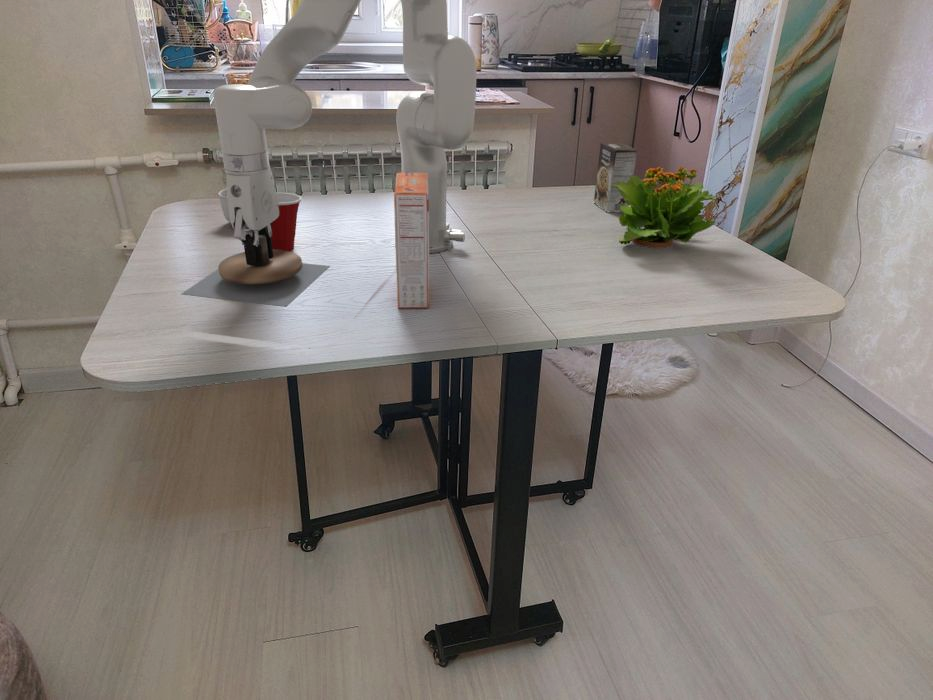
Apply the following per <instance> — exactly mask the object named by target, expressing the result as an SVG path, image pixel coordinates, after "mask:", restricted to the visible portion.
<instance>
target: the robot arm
mask: <svg viewBox="0 0 933 700" xmlns="http://www.w3.org/2000/svg"><path fill="white" fill-rule="evenodd" d="M361 1H362V0H301V1H300V3H299V4H298V7H297V9H296V11H295V12H294V14H293V15H292V17H291V18H290V19H289V20H288V21H287V22H286V23H285V24H284V25H283V26H282V27H281V29H280V30H279V31H278V32H277V34H276V35H275V36H274V37H273V38H272V39H271V40H270V42H269V43H268V44H267V46H266V47H265V48H264V50H263V51H262V53H261V54H260V57H258V60H257V62H256V64H255V65H254V68H253V70H252V72H251V74H250V76H249V78H248V81H247V84H243V83H239V84H238V83H235V84H233V83H232V84H223V85H220V86H217V87H216V88H215V89H214V90H213V103H214V105H213V106H214V111H215V116H216V123H217V128H218V129H217V130H218V136H219V142H220V148H221V154H222V161H223V168H224V172H225V173H226V188H227V198H228V207H229V214H230V220H231V223H230V224H231V226H232V228H233V229H234V231H233V232H234V233H233V237H234V239H237V240H240V242H241V245H242V246H243V247H244V248H243V249H244V252H245V256H246V263H247V264H248V265H254V266H263V265H264V261H263V253H262V246H261V245H259V238H258V235H264V236H266V241H267V248H268V255H269V258H270V259H271V258H273V257H274V255H273V248H272V240H271V236H272V230H271V225H272V222H273V221H274V220H276V219H277V218H278V216H279V206H278V200H277V194H276V192H277V191H276V183H275V181H274V176H273V173H272V170H271V167H270V161H269V160H270V159H269V151H268V145H267V144H268V143H267V136H266V135H267V134H266V130H267V129H271V130H272V129H273V130H293V129H297V128H300V127H302V126H304V125H305V124H306V123H307V122H308V121H309V120H310V118H311V117H312V116H311V115H312V112H313V105H312V100H311V98H310V96H309V94H308V93H307V92H306V91H305V90H304V89H303V88H302V87H300V86H299V85H297V84H294V82H295V80H296V79H297V77H298V76H299V74H300V73H301V72H302V71H303V70H304V68H305V67H306V66H308V65H309V64H310V63H311V62H313V60H315V59H316V58H319V57H321V56H322V55H324V54H326V53H329V52H330V51H331V50H334V48H336V47H337V46H338V45H339V44H340V43H341V42H342V40H343V38H344V36H345V34H346V31H347V29H348V27H349V25H350V24H351V21H352V19H353V17H354V15H355V13H356V11H357V10H358V7H359V5H360V4H361ZM400 2H401V4H400V5H401V8H402V9H401V10H402V11H401V12H402V64H403V71H404V74H405V76H406V77H407V78H408V80H409V81H411V82H413V83H415V84H417V85H421V86H424V87H429V88H433V93H431V92H426V91H417V92H412V93H410V94H409V93H408V95H406V96H405V97H404V98H402V100H401V101H400V103H398V106H397V110H396V115H395V119H396V122H395V123H396V130H397V134H398V140H399V145H400V159H401V172H409V173H427V176H428V192H429V254H434V253H440V252H444V251H447V250H449V249H451V248H452V246H453V243H454V242H453V241H455V242H459V243H464V242H465V239H466V233H464V232H462V231H463V230H461V229H452V228H450V222H447V186H448V185H447V183H448V182H447V180H448V178H447V177H448V161H447V155H446V151H445V150H451V151H453V150H458V149H460V148H463V146H465V145H466V144H467V143H468V141H469V140H470V138H471V136H472V134H473V130H474V125H475V116H476V115H475V112H476V97H477V95H476V94H477V92H476V91H477V73H478V72H477V60H476V58H475V57H476V56H475V53H474V51H473V49H472V47H471V46H470V44H469V42H467V41H466V40H465V39H464V38H461V37H459V36H457V35H452V34H449V32H448V27H449V26H448V2H447V0H400ZM245 225H247V226H248V227H246V226H245ZM249 233H251V234H249Z"/></svg>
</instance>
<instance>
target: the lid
mask: <svg viewBox="0 0 933 700" xmlns="http://www.w3.org/2000/svg"><path fill="white" fill-rule="evenodd" d="M258 238H259V245H261V246H262V253H263V261H264V265H263V266H254V265H248V264H247V263H246V256H245V251H243V252H240V253H236V254H233V255H231V256H228V257H226V258H225V259H223V260H221V262H220V263H219V265H218V268H217V269H219V274H220V276H221V277H222V278H223V279H225V280H227V281H230V282H234V283H239V284H264V283H271V282H276V281H280V280H284V279H287V278H289V277H291V276H294V275H295V274H297V273H298V272H299V271H300V270H301V269H302V263H303V259H302V257H301V256H300V255H299V254H297V253H295V252H292V251H285V250H277V249H273V255H274V257H273V258H271V259H270V258H269V255H268V248H267V241H266V236H264V235H258Z"/></svg>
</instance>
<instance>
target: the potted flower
mask: <svg viewBox="0 0 933 700" xmlns="http://www.w3.org/2000/svg"><path fill="white" fill-rule="evenodd" d="M663 170H664V168H662V167H661V166H658V167H656V168H655V167H651V168H648V169H647V170H646V171H645V175H644V179H641V178H640V177H639V176H638V175H635V174H634V175H631V177H630V178H629V179H630V180H628V181H627V184H626V183H625V182H624V181H623V182H622V183H621V182H619V181H618V182H616V184H617V185H611V186H613V187H616V188H618V189H619V191H620V193H621V195H622V196H623V197H624V201H625V202H626V203H627V205H629V206H621V207H620V209H621V211H622V212H621V213H623V214H622V215H619V216H618V221H619V222H618V223H619V224H620V225H621V226H622V227H626V228H625V229H626V230H627V231H625V232H624V235H623V237H621V238H619V240H618V243H619V244H620V245H630V244H631V242H632V243H633V242H634V243H633V244H637V245H639V246H642V247H646V246H647V248H651V247H654V248H653V249H659V248H660V247H661V248H667V247H670V246H671V245H672V244H673V242H674V241H681V242H682V243H688V242H689V241H690V240H692V237H693V236H695V235H696V234H697V233H700V232H702V231H706V230H708V229H709V228H711V227H713V225H715V224H716V222H717V221H715V220H705V219H704V215H703V214H701V213H702V210H703V209H705V203H704V201H709V200H711V201H712V200H717V197H716V196H715V195H713V194H712V193H710V191H709V190H704V183H702V182H701V181H697V182H696V183H695V184H694V185H693V184H692V182H693V181H692V180H693V179H694V178H696V177H697V176H698V175H697V174H696V173H697V172H698V171H699V170H698V169H695V168H689V170H688V169H687V168H685V167H684V166H680V167H678V168H677V171H676V172H673V171H669V172H668V171H665V172H664V171H663ZM687 170H688V171H689V172H690V173H688V171H687ZM686 179H689V180H690V182H689V183H684V182H685V181H686ZM658 183H659V184H660V186H661V187H657V186H658Z"/></svg>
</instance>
